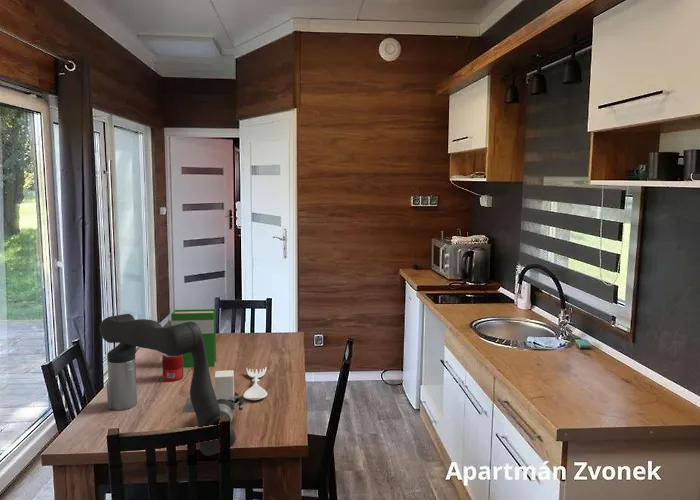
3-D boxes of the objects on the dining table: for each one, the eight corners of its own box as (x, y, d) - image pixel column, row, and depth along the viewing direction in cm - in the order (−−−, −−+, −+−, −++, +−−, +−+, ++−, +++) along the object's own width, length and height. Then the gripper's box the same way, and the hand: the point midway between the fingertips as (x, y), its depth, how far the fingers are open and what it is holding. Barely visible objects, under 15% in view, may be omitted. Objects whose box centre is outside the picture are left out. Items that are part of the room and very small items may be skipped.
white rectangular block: (215, 406, 196) (214, 377, 195) (216, 399, 202) (215, 371, 201) (233, 405, 197) (233, 376, 196) (234, 398, 203) (233, 370, 202)
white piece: (267, 373, 232) (267, 365, 232) (267, 403, 201) (267, 394, 200) (245, 374, 231) (245, 366, 230) (242, 405, 199) (242, 396, 199)
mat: (183, 413, 191) (182, 404, 190) (187, 398, 204) (187, 390, 203) (235, 410, 194) (235, 401, 194) (236, 396, 207) (236, 387, 206)
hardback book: (216, 361, 246) (215, 309, 243) (214, 366, 239) (213, 313, 235) (175, 362, 243) (174, 309, 240) (172, 368, 236) (171, 313, 233)
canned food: (187, 378, 224) (186, 352, 223) (169, 383, 219) (168, 356, 217) (177, 373, 230) (176, 348, 228) (159, 378, 224) (158, 352, 222)
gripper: (242, 402, 176) (243, 384, 192) (197, 405, 174) (202, 386, 190) (243, 424, 177) (244, 404, 193) (197, 427, 175) (202, 406, 191)
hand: (223, 395), depth 191 cm, fingers open, 8 cm apart
